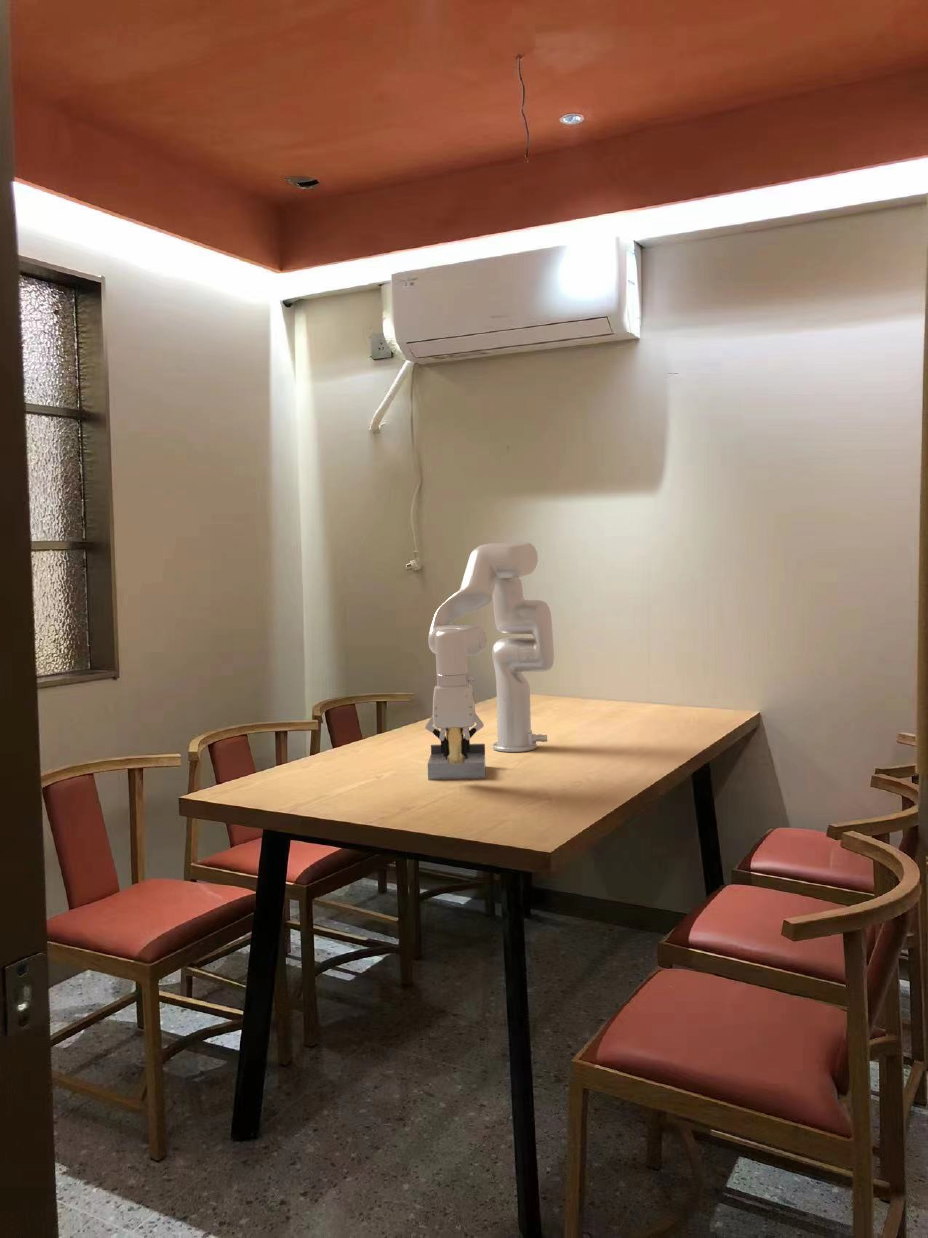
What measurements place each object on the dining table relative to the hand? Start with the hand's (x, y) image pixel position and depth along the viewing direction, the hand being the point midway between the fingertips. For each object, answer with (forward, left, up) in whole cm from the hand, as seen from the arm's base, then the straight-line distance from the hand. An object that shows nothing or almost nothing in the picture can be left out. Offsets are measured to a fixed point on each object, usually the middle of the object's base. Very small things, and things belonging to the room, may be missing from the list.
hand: (455, 754), depth 235 cm
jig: (0, -12, -7) cm, 14 cm away
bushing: (0, 0, -2) cm, 2 cm away
